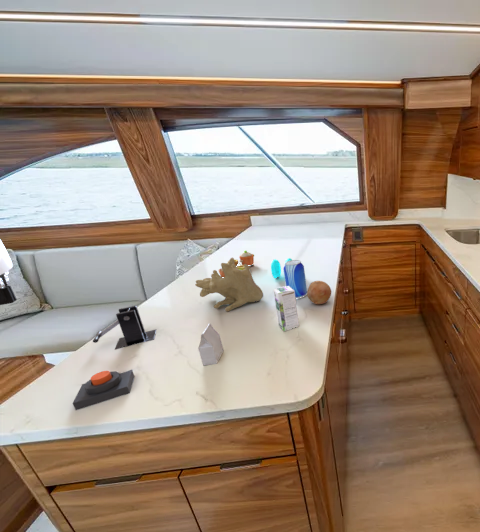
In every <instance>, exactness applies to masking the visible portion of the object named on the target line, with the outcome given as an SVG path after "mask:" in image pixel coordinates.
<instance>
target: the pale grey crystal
mask: <svg viewBox="0 0 480 532" xmlns="http://www.w3.org/2000/svg"><path fill="white" fill-rule="evenodd" d="M198 352H199V356H200V359H201V364H202V366H204V367H205V366H209V365H215V364H218V362H219V360H220V359H221V356H222V355H223V352H224V347H223V342H222V338H221V334H220V333H219V331H217V330H216V329H215V328H214V327H213V325H212V324H211V323H208V324H207V326H206V327H205V329H204V330H203V332H201V335H200V341H199V345H198Z"/></svg>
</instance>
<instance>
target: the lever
mask: <svg viewBox="0 0 480 532" xmlns="http://www.w3.org/2000/svg"><path fill="white" fill-rule="evenodd" d="M127 311H131V309H130V308H129V309H128V310H127ZM127 311H125V312H127ZM119 325H120V324H119V322H118V319H117V320H115V321H114V322H113V323H111V324H109V326H107V327H106V328H105V329H103V330H99V331H97V333H96V335H95V336H94V338H93V340H92V343H94V344H97V343H98V342H99V341H100V339H101V338H102V337H103V336H104V335H106V334H108V333H109V332H111V330H113V329H114V328H116V327H117V326H119Z"/></svg>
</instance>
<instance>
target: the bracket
mask: <svg viewBox="0 0 480 532" xmlns="http://www.w3.org/2000/svg"><path fill="white" fill-rule="evenodd" d="M129 308H130V309H131V311H127V310H128V309H129ZM125 311H127V312H125ZM115 316H116V319H117V320H118V322H119V324H118V325H119V327H120V330H121V332H122V335H123V337H119V338H118V340H117V343H116V345H115V347H114V350H119V349H123V348H127V347H131V346H135V345H138V344H142V343H147V342H151V341H154V340H155V338H156V334H157V329H151V330H148V331H146V329H145V328H144V324H143V321H142V317H141V315H140V312H139V309H138V306H137V305H132V306H127V307H121V308H118V312H117V313H116V314H115Z"/></svg>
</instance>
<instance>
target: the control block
mask: <svg viewBox="0 0 480 532" xmlns="http://www.w3.org/2000/svg"><path fill="white" fill-rule="evenodd" d="M110 373H111V376H112V379H110V380H109V381H107V382H105V383H103V384H99V385H93V384H92V381H91V378H90V379H88V380H87V381H86V382H84V383H82V384H81V385H80V388H79V390H78V392H77V394H76V396H75V398H74V400H73V402H72V405H73V407H74V410H75V411H78V410H82V409H85V408H88V407H91V406H94V405H97V404H100V403H103V402H107V401H110V400H112V399H116V398H120V397H122V396H126V395H128V394H131V390H132V387H133V383H134V379H135V374H134V371H133V369H130V370H127V371H123V372H119V371H110Z"/></svg>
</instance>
